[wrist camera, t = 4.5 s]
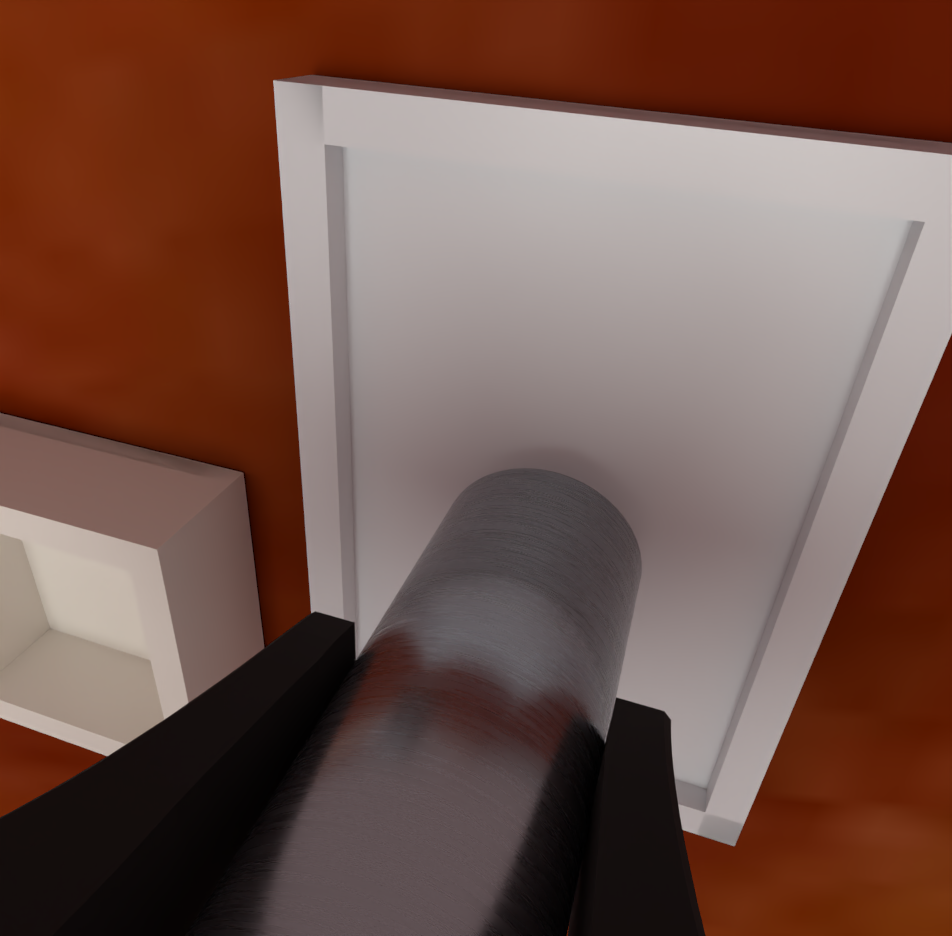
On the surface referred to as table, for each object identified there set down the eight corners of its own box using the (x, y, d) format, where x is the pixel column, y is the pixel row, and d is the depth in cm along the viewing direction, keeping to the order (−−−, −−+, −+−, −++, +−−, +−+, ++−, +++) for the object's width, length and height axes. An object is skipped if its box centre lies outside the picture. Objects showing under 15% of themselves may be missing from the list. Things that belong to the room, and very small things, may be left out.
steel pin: (601, 661, 14) (436, 1350, 7) (426, 588, 15) (98, 1164, 7) (674, 516, 12) (547, 1278, 5) (468, 437, 13) (72, 1024, 5)
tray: (736, 799, 17) (734, 846, 16) (340, 678, 20) (318, 713, 19) (997, 148, 10) (1023, 163, 9) (312, 75, 12) (273, 80, 11)
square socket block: (270, 701, 21) (206, 792, 19) (47, 629, 23) (-39, 703, 20) (243, 472, 17) (156, 549, 15) (-26, 406, 19) (-143, 465, 16)
